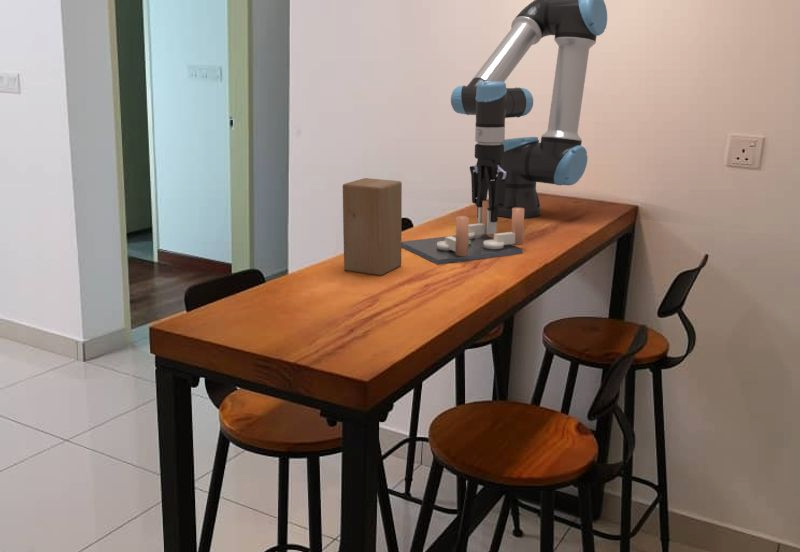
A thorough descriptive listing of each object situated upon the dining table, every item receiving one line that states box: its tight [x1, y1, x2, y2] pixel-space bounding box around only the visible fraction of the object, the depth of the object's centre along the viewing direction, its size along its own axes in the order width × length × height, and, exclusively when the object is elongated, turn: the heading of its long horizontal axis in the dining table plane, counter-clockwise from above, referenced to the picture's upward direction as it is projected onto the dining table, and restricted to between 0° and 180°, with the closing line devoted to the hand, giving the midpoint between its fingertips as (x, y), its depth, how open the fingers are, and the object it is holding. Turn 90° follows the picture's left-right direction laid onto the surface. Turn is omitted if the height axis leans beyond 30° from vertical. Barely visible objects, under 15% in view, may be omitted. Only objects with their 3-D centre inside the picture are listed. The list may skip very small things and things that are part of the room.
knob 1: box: [437, 215, 470, 256], centre depth 193 cm, size 11×5×9 cm, turn 27°
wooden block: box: [342, 177, 403, 276], centre depth 182 cm, size 10×10×20 cm
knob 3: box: [483, 208, 525, 249], centre depth 198 cm, size 11×5×9 cm, turn 117°
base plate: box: [401, 235, 524, 266], centre depth 201 cm, size 24×20×2 cm
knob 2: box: [455, 199, 494, 239], centre depth 208 cm, size 11×5×9 cm, turn 119°
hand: (486, 232), depth 211 cm, fingers open, 3 cm apart
